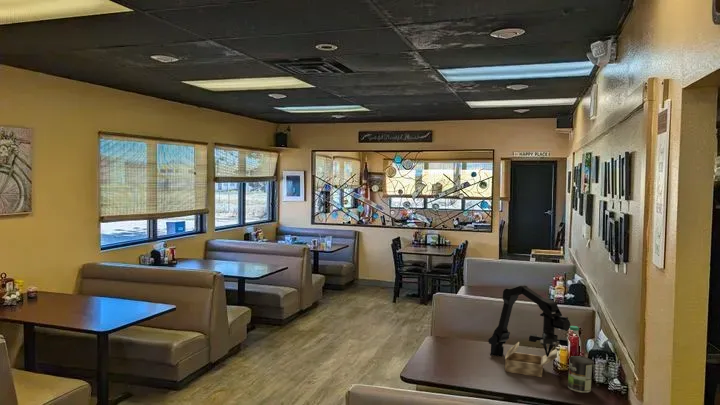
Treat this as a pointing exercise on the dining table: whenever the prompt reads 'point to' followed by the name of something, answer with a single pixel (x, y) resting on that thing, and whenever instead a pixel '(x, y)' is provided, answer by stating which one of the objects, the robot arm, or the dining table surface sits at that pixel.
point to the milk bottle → (575, 330)
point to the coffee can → (580, 374)
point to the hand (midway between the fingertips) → (547, 356)
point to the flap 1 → (512, 350)
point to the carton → (524, 364)
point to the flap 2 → (550, 357)
